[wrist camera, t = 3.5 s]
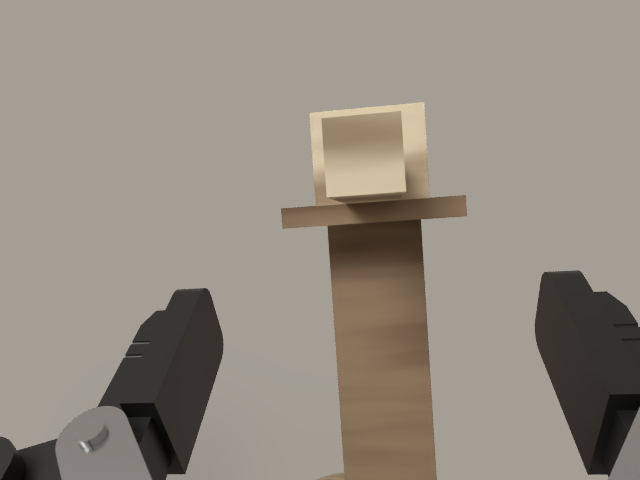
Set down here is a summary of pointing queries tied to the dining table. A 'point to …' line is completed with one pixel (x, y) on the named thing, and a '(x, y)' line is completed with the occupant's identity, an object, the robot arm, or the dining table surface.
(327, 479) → the dining table surface
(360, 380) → the shelf stand
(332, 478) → the dining table surface
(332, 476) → the dining table surface
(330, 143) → the peg
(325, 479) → the dining table surface
